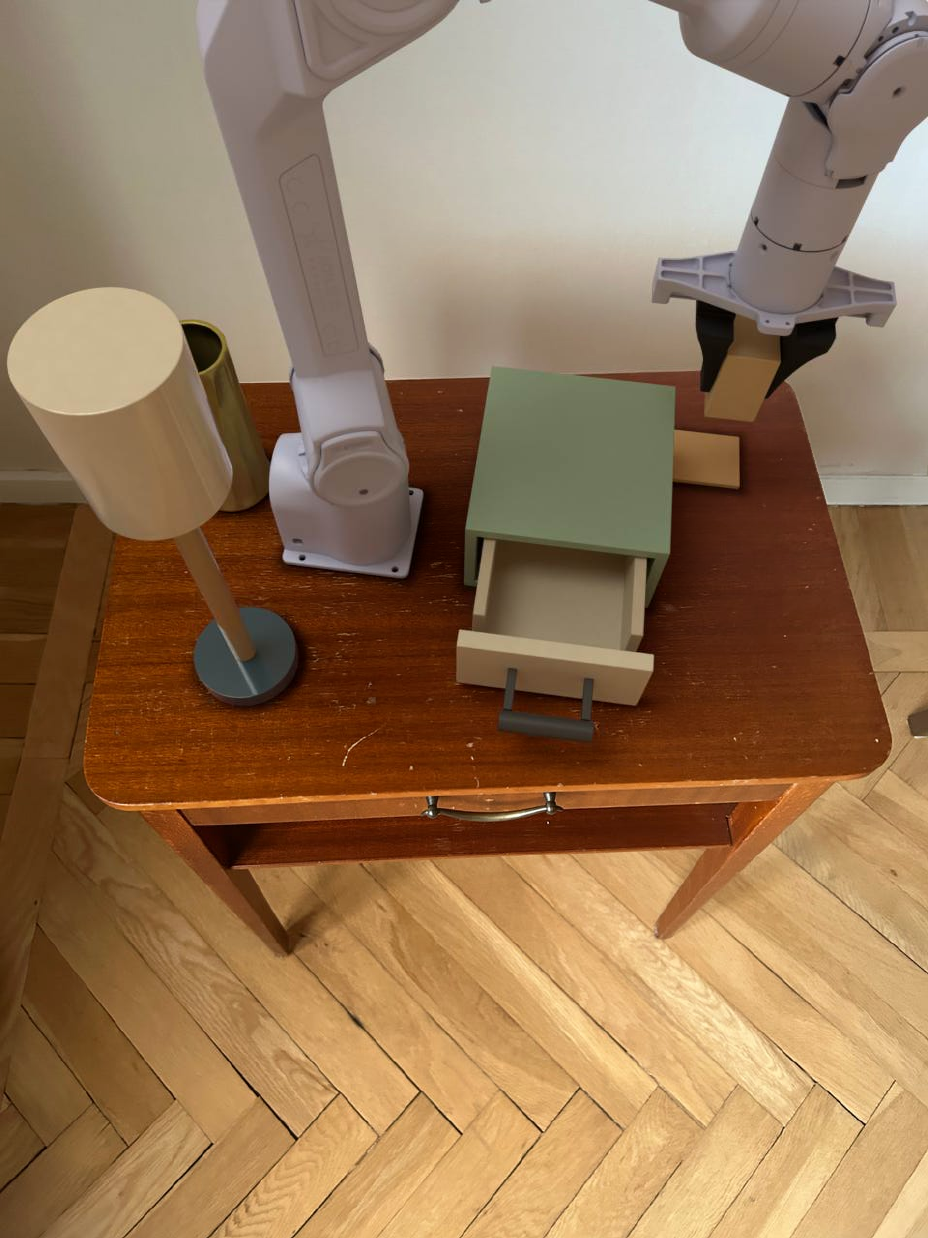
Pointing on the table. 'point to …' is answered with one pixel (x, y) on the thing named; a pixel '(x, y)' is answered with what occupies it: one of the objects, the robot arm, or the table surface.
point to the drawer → (556, 632)
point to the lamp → (148, 458)
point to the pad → (706, 459)
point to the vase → (229, 415)
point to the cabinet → (574, 467)
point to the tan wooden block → (744, 373)
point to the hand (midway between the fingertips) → (733, 384)
